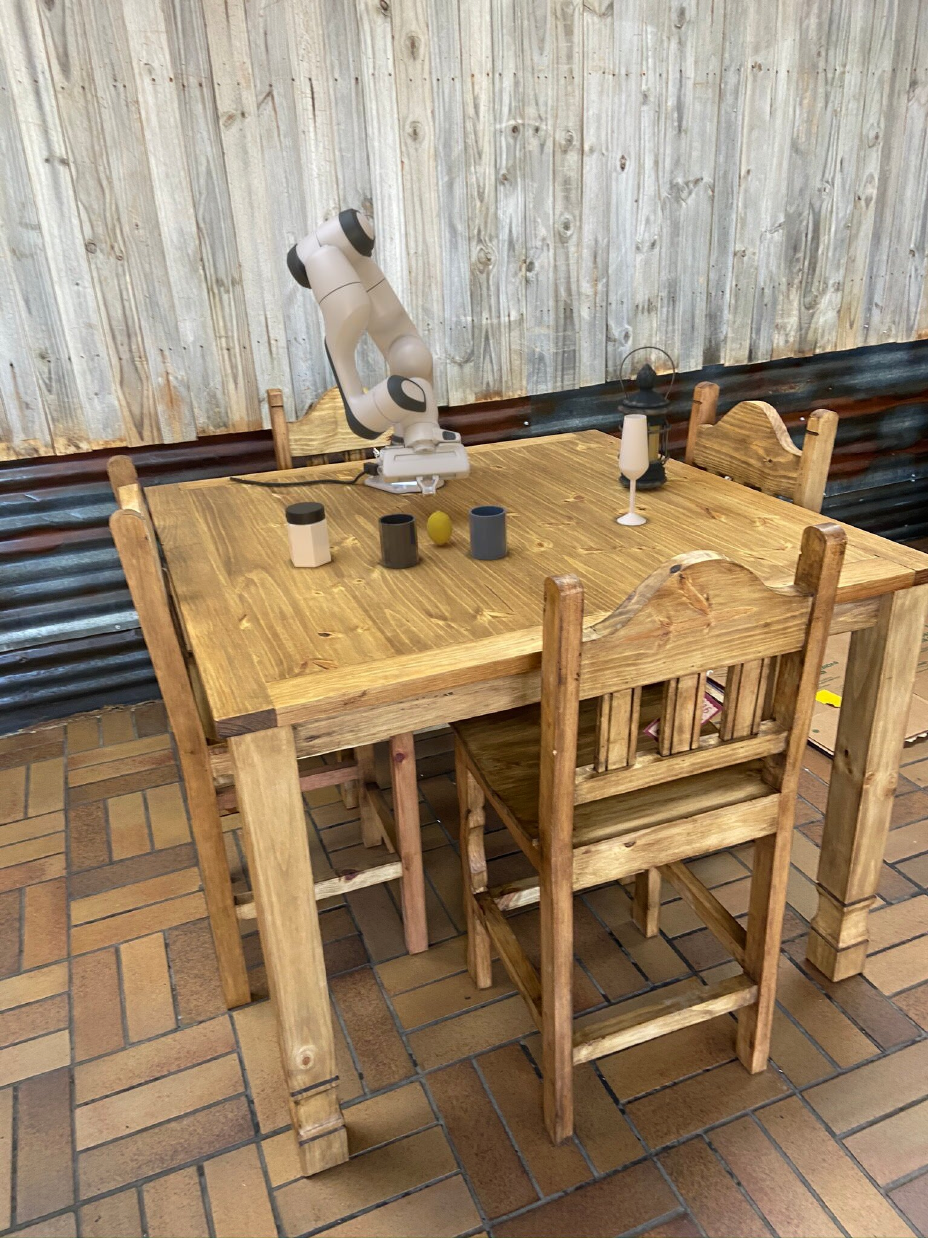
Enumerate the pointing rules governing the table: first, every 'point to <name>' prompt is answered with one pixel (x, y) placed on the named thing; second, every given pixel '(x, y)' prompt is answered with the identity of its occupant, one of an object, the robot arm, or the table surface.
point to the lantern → (649, 423)
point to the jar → (307, 534)
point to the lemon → (439, 527)
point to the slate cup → (488, 532)
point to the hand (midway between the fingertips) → (429, 495)
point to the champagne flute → (633, 460)
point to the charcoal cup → (398, 540)
